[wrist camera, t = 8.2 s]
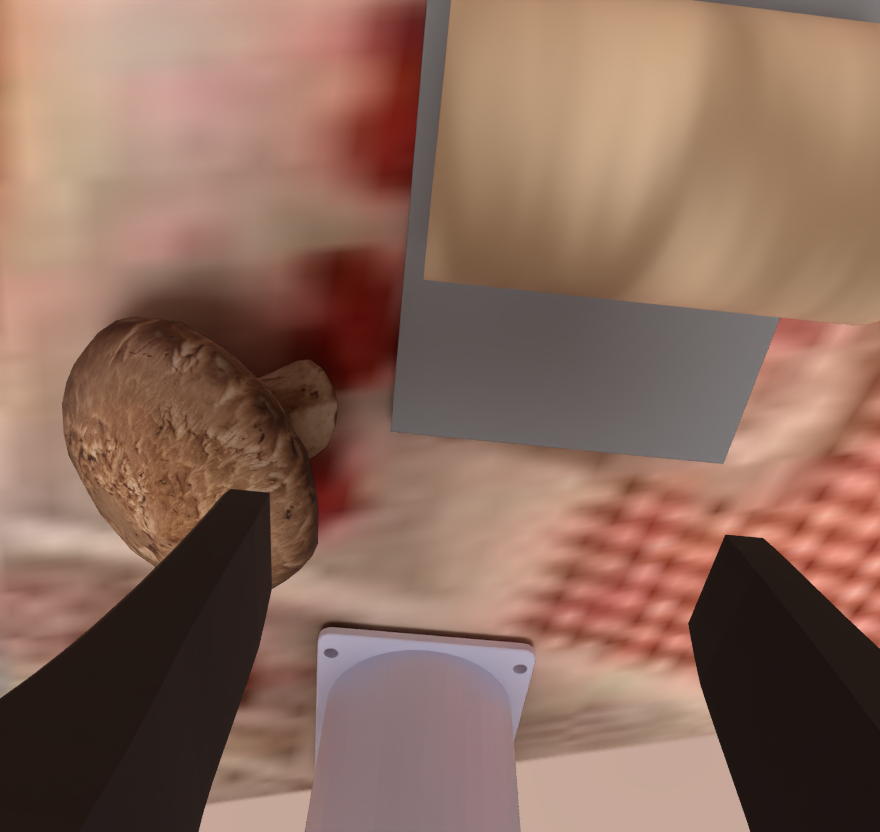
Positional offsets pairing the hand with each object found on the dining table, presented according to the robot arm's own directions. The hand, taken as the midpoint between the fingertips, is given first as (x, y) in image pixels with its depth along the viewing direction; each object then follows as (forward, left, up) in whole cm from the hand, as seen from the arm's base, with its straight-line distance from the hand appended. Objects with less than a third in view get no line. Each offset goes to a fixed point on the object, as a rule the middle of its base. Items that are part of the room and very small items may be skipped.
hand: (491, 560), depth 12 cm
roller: (+5, -3, -10) cm, 11 cm away
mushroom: (-4, +7, -10) cm, 13 cm away
